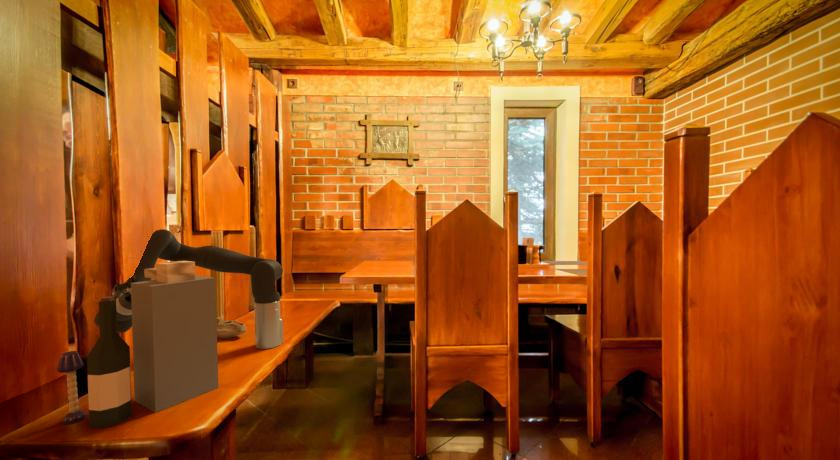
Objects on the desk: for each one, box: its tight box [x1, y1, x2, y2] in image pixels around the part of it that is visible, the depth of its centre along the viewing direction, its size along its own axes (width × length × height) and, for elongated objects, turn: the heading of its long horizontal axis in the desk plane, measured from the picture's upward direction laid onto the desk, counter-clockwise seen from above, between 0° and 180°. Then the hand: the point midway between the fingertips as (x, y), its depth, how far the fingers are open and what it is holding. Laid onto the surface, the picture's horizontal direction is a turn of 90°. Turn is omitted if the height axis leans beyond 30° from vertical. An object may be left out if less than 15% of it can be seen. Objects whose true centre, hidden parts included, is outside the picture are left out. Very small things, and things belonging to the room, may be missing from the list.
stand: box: [131, 274, 219, 413], centre depth 102 cm, size 16×12×32 cm
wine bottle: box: [86, 295, 133, 429], centre depth 89 cm, size 8×8×30 cm
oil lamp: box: [217, 316, 248, 339], centre depth 155 cm, size 11×15×8 cm
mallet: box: [144, 261, 196, 283], centre depth 105 cm, size 7×19×5 cm, turn 58°
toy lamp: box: [56, 350, 87, 425], centre depth 89 cm, size 5×5×17 cm
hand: (152, 276), depth 109 cm, fingers open, 8 cm apart
